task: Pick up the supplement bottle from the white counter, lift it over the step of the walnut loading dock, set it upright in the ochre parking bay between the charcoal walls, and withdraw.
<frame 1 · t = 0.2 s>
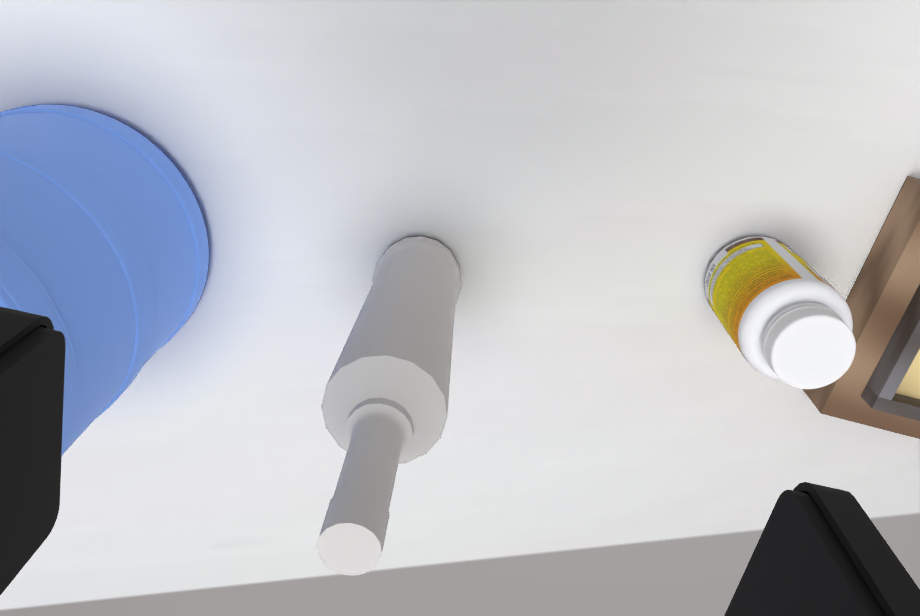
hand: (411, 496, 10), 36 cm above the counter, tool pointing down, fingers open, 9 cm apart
bottle: (419, 272, 48), on the counter
water jug: (86, 233, 48), on the counter
supplement bottle: (748, 276, 47), on the counter
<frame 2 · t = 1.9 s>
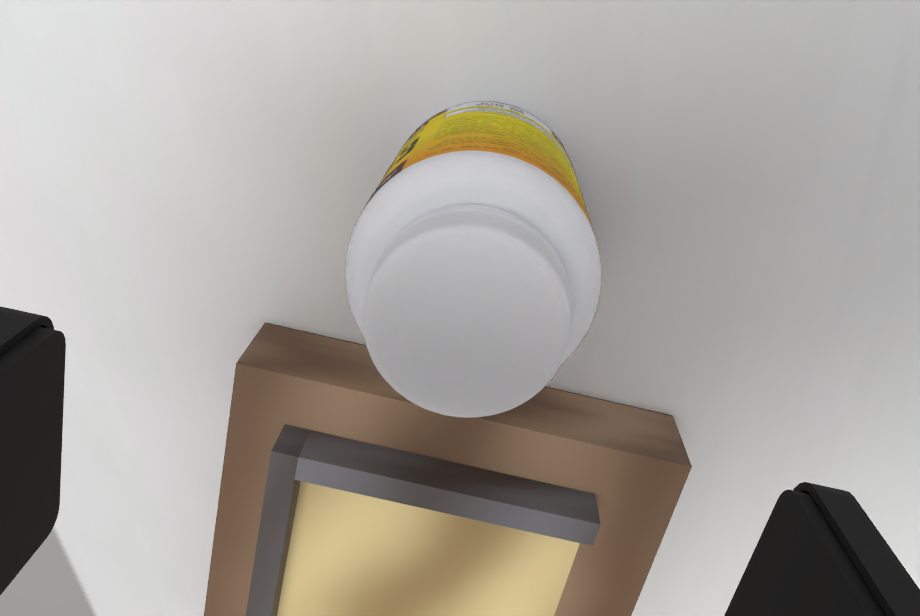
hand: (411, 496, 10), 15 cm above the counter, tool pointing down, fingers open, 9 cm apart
supplement bottle: (483, 190, 24), on the counter
loading dock: (427, 534, 29), on the counter
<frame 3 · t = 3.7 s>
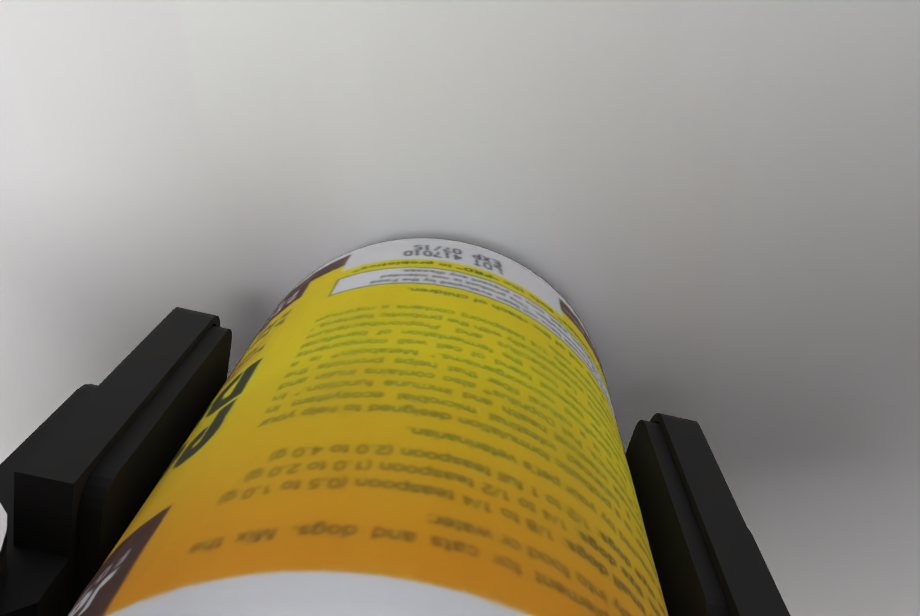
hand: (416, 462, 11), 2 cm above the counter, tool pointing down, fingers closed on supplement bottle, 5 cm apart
supplement bottle: (429, 385, 13), on the counter, touching gripper
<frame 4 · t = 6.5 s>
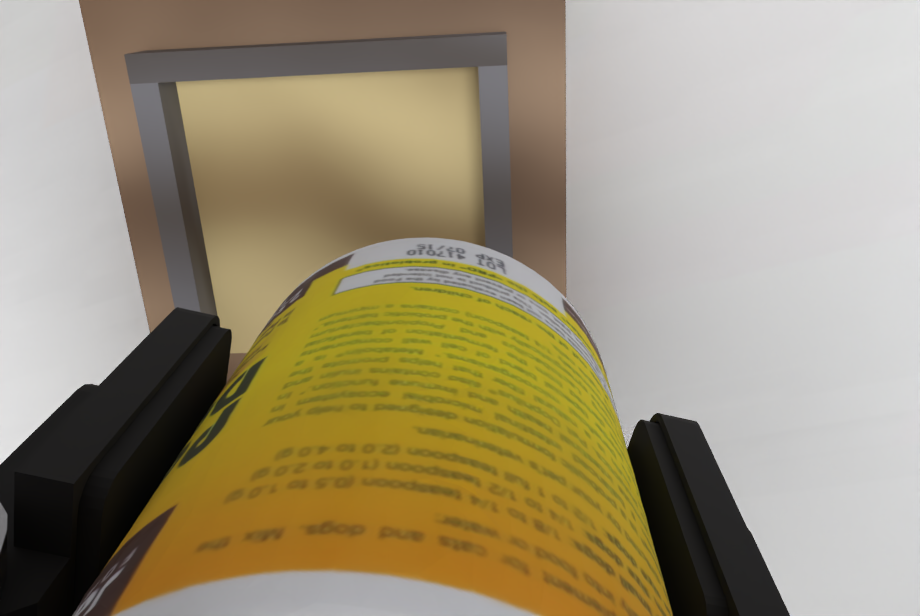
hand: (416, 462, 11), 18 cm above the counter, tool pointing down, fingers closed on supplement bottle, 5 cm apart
supplement bottle: (431, 385, 13), point 16 cm above the counter, touching gripper
loading dock: (358, 194, 28), on the counter
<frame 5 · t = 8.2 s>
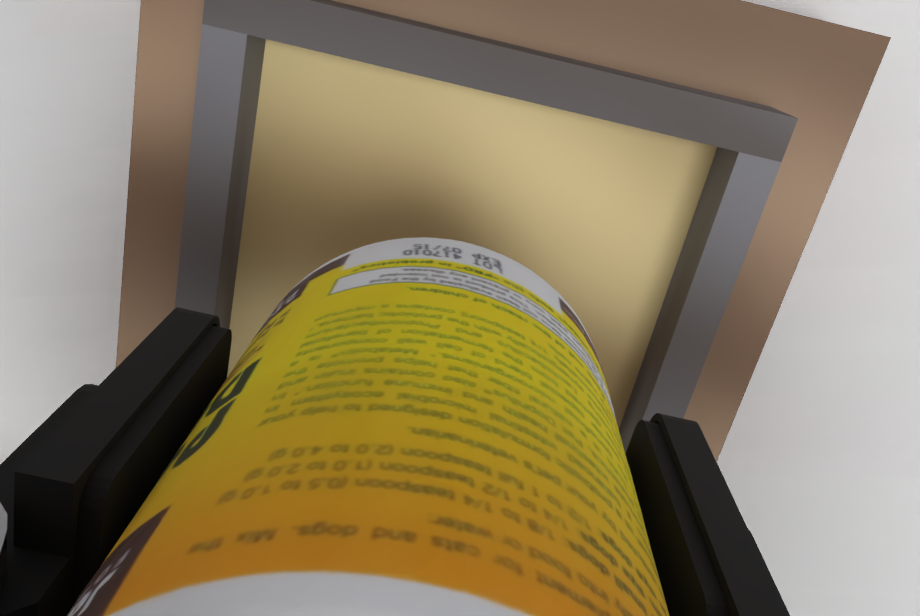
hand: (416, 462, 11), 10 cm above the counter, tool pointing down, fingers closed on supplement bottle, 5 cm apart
supplement bottle: (429, 385, 13), point 7 cm above the counter, touching gripper
loading dock: (453, 251, 20), on the counter
when the fingers open (7 cm above the counter, at t = 9.6 s): supplement bottle drops 1 cm, resting on loading dock.
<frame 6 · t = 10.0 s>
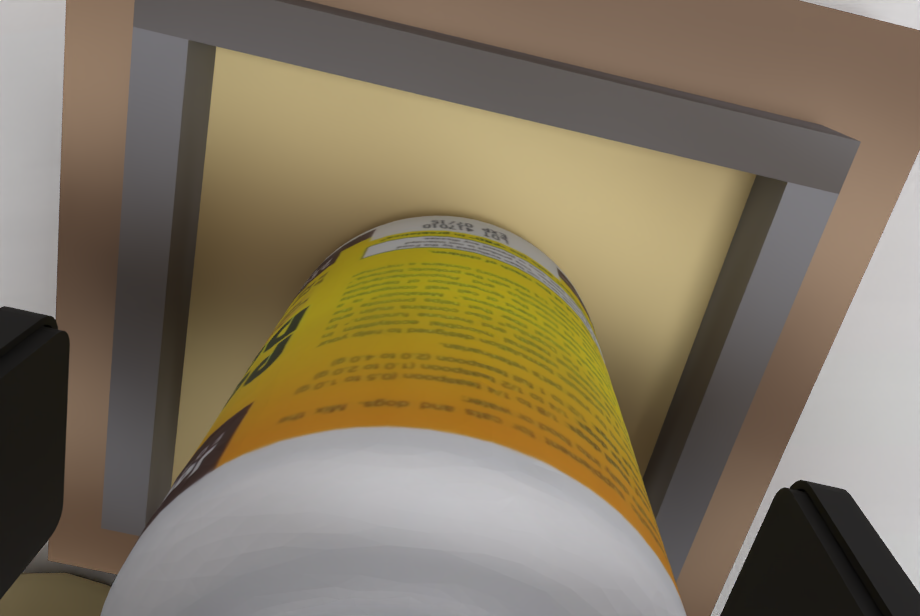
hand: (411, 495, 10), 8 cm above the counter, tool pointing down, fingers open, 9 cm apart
supplement bottle: (441, 351, 15), point 3 cm above the counter, touching loading dock
loading dock: (445, 285, 17), on the counter
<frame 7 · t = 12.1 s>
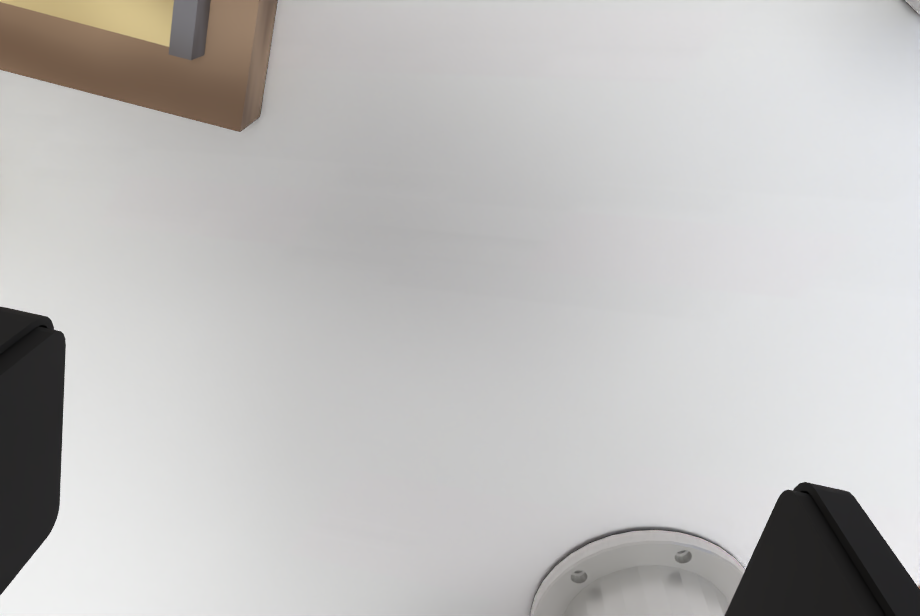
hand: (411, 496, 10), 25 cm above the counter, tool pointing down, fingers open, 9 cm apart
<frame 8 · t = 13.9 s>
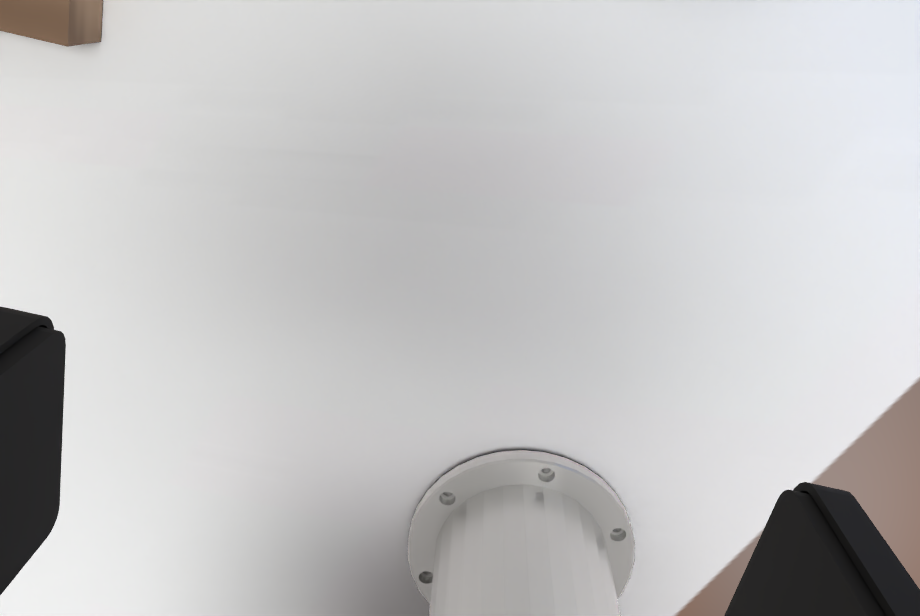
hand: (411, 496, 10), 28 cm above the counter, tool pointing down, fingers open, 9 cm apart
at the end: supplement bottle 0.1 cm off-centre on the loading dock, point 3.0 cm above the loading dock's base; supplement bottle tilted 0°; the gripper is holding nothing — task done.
